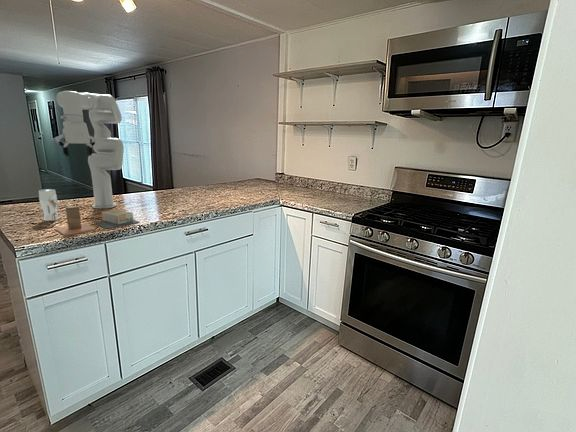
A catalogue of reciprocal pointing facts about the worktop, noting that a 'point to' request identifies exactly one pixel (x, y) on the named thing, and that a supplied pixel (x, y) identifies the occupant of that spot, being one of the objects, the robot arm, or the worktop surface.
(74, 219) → the walnut block
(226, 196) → the worktop surface
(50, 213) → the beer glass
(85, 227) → the pad
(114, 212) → the supplement box
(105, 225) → the mat
